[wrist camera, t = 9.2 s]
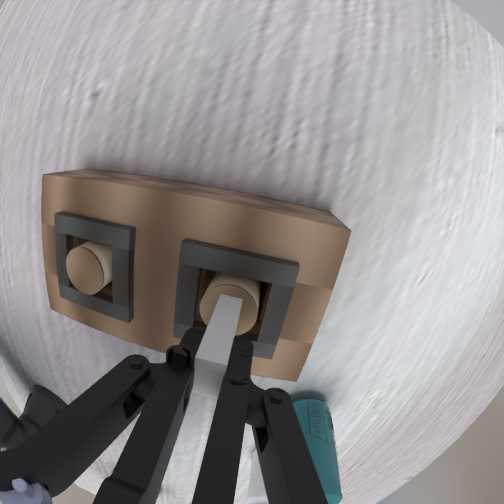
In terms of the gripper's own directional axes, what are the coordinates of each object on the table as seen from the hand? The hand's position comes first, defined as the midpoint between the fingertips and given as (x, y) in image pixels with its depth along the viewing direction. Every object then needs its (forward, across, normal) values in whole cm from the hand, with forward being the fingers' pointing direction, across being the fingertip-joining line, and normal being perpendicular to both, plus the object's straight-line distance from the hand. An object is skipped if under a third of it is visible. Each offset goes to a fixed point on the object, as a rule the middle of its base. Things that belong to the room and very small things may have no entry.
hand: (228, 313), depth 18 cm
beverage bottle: (+9, +12, -18) cm, 24 cm away
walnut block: (+9, -6, 0) cm, 11 cm away
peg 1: (+8, -12, 0) cm, 15 cm away
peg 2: (+8, 0, 0) cm, 8 cm away
